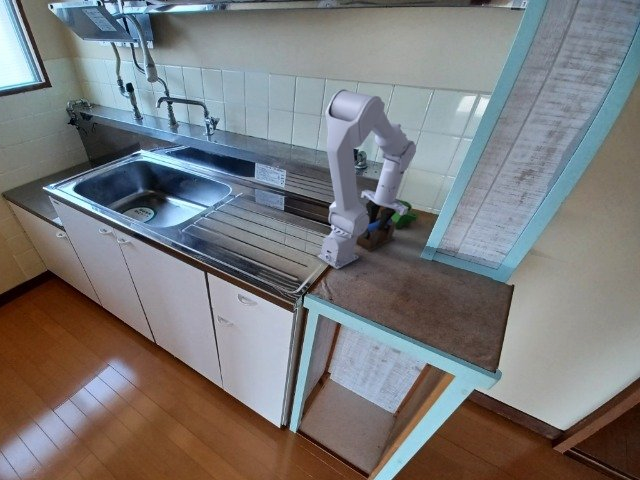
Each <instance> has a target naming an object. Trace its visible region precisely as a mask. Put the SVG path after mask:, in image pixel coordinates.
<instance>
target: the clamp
mask: <svg viewBox="0 0 640 480" xmlns="http://www.w3.org/2000/svg"><path fill="white" fill-rule="evenodd" d="M396 200H398V201H399V202H400V203H402V204H403V205H405V206H406V207H408V210H407V213H406V214H405V215H400V214H399V213H398V212H396V213H395V214H394V215H393V216H392V217H391V218H392V222H393V221H394V222H397V223H396V226H395V229H401V227H402V226H408V227H410V225H411V223H412V222H416V221H417V220H418V218H419V215H418V213H416V212H413V211H411V209H412V208H413V206H412V205H411V203H410V202H408V201H405V200H401V199H398V198H396Z"/></svg>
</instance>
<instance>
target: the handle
mask: <svg viewBox="0 0 640 480" xmlns="http://www.w3.org/2000/svg"><path fill="white" fill-rule="evenodd" d="M391 222H392V218H390V220H389V221H388V222H387V224H389V223H391ZM379 223H380V220H378V221H376V222H374V223H372V224H370V225H368V227H367V229H366V230H365V232H364V233H363V234H361V237H363V238H365V237H367V236H369V235H370V233H371V232H372V231H374V230H376V229H378V226H379ZM387 224H386V225H385V227H387ZM385 227H384V228H385Z"/></svg>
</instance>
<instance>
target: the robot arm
mask: <svg viewBox="0 0 640 480" xmlns="http://www.w3.org/2000/svg"><path fill="white" fill-rule="evenodd" d="M324 114H325V122H326V128H327V139H326V154H327V160H328V166H329V171H330V177H331V184H332V189H333V195H334V201H333V202H331V204H330V205H329V207H328V209H329V214H328V223H329V224H331V226H330V228H331V229H332V230H331V232H330V233H329V234H328V235H327V236H325V237H324V238H323V240H322V243H321V249H320V253H319V254H318V255H317V257H318V258H319V259H321V260H322V261H324V262H325V263H326V264H329V265H330V266H331V267H333V268H334V269H337V270H339V269H341V268H342V267H345V266H347V265H349V264H350V263H352V262H354V261H356V260H358V259H359V258H360V256H359V255H358V254H356V253H355V249H356V246H357V244H356V242H357V238H358V236H360V235H361V234H363V233H364V232H365V230H366V229H367V227H368V225H370V224H372V223H374V222H375V221H376V218H377V216H378V215H379V212H380V215H381V218H380V223H379V226H378V230H382V229H384V227H385V225H386V224H387V222H388V221H389V220H390V218H391V217H392V216H393V215H394V214H395V213H396V212H398V213H399V214H400V215H405V214H406V213H407V210H408V207H406V206H405V205H403V204H402V203H400V202H399V201H398V200H399V199H398V200H396V199H397V196H398V192H399V190H400V186H401V183H402V182H403V181H402V180H403V178H404V174H405V171H407V170H408V168H409V167H410V163H411V162H412V160H413V159H414V157H415V155H416V152H417V145H416V144H415V141H414V140H410V139H408V138H407V134H406V133H405V132H404V131H403V130H402V128H401V127H402V125H401V123H400V122H396V121H394V122H393V121H392V122H391V121H390V120H389V118H388V116H387V114H386V112H385V102H384V101H382V98H381V97H380V96H379V95H371V94H370V95H369V94H365V93H359V92H354V91H349V90H347V89H345V88H341V89H339V90H337V91H336V92H335V93H334V94H333V95H332V96H331V99H330V101H329V103H328V105H327V108H326V110H325V112H324ZM371 132H372V133H374V134H375V136H374V141H375V144H376V145H377V146H378V148H379V149H380V150H381V158H382V159H384V162H383V165H382V168H381V173H380V175H379V179H378V183H377V187H376V190H375V191H372V190H368V189H365V190H362V191H361V195H360V198H361V199H366V200H369V201H368V202H367V203H365V207H364V206H363V204H362V203H361V202H360V201H359V197H358V185H357V175H356V174H357V173H356V164H355V152H354V149H356V148H359V147H361V146H362V145H363V143H364V142H365V141H366V139H367V138H368V136H369V135H370V133H371ZM381 207H384V208H383V209H381Z"/></svg>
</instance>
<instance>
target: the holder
mask: <svg viewBox="0 0 640 480" xmlns="http://www.w3.org/2000/svg"><path fill="white" fill-rule="evenodd" d="M380 218H381V214H378V215H377V218H376V221H378V220H380ZM376 221H375V222H376ZM396 223H397V222H394V221H393V222H391V223H389V224H387V227H385V228H384V229H382V230H378V229H376V230H374V231H372V232H371V233H370V235H369V236H367V237H365V238H363V237H361V235H360V236H358V238H357V242H356V245H357V246H359V247H361V248H363V249H365V250H367V252H371V251H372V250H375V249H377V248H379V247H380V246H382V245H384V244H386V243H388V242H390V241H393V235H394V231H395V229H396V228H395V226H396Z"/></svg>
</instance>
